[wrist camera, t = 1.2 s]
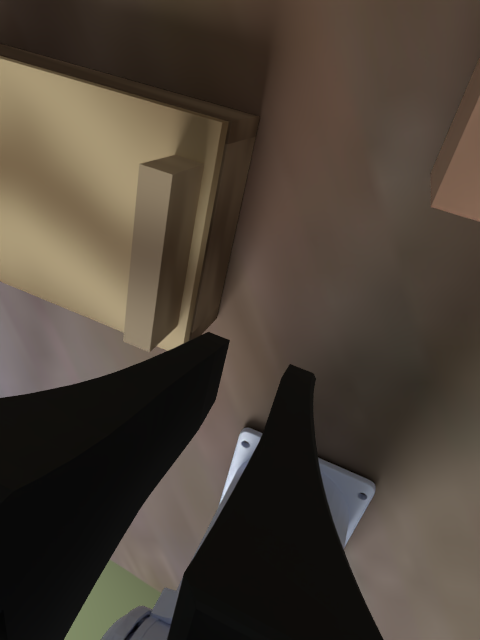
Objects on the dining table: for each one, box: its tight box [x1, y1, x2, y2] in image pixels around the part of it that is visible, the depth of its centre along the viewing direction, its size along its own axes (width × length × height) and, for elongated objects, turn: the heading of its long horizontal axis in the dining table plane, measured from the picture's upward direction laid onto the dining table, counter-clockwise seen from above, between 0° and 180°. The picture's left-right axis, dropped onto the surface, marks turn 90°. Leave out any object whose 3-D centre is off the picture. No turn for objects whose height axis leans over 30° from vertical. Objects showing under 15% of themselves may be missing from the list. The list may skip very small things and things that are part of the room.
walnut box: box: [0, 44, 260, 341], centre depth 21 cm, size 10×14×3 cm
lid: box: [0, 56, 229, 352], centre depth 19 cm, size 10×14×3 cm
